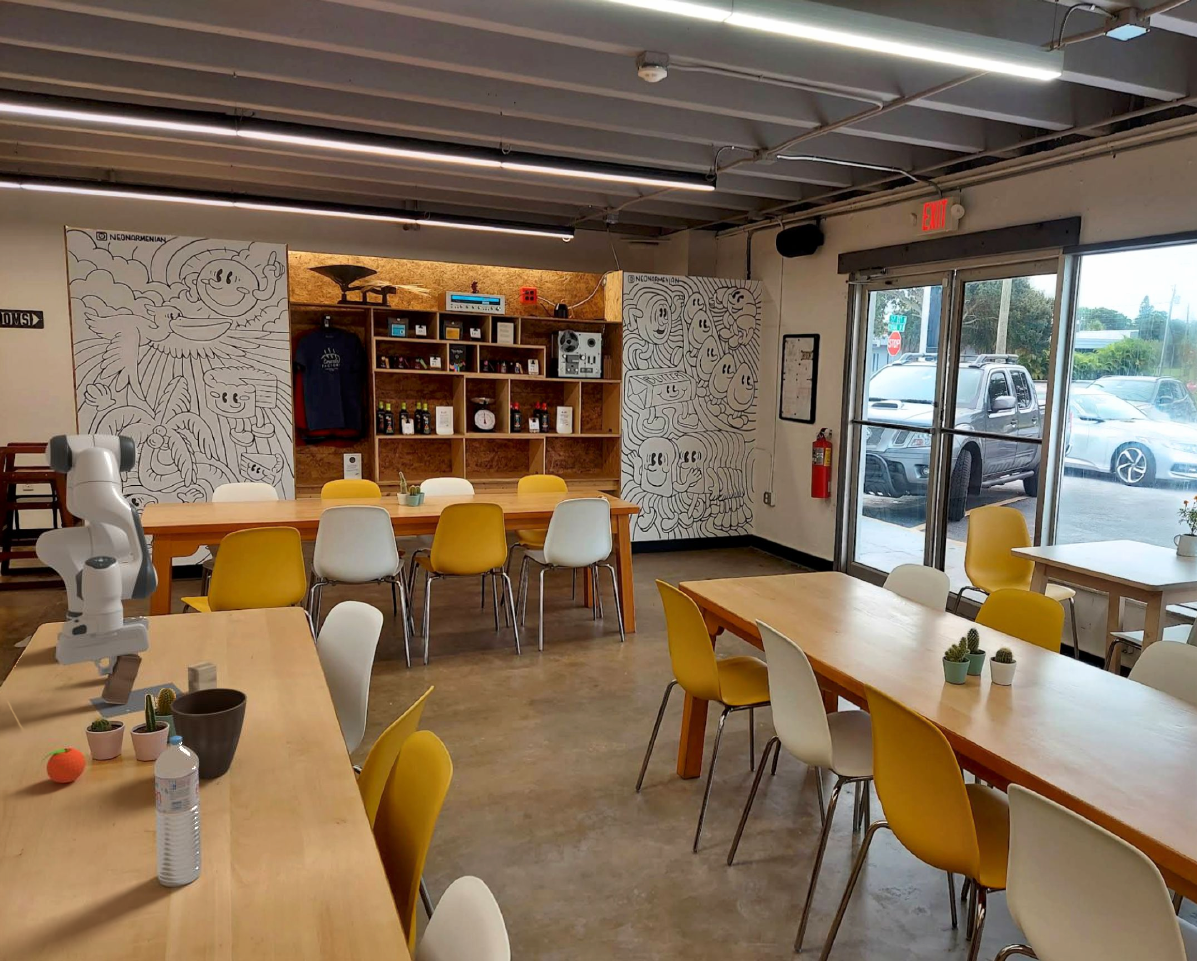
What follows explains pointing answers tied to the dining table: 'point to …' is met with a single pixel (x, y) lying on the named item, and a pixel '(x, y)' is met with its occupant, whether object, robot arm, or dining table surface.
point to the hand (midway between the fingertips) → (105, 674)
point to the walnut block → (121, 679)
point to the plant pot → (210, 726)
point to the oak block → (202, 677)
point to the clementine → (65, 765)
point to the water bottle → (177, 815)
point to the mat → (131, 701)
